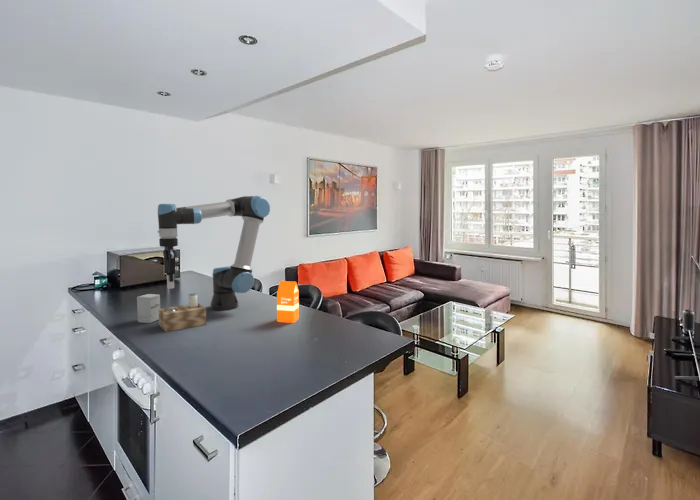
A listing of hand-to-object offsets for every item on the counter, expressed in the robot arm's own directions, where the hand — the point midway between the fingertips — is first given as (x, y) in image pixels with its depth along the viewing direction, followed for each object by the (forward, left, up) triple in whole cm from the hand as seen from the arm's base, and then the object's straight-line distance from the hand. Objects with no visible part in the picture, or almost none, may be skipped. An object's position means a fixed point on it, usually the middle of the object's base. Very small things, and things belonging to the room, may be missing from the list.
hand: (170, 288), depth 170 cm
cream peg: (-10, 0, -12) cm, 16 cm away
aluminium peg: (0, 0, -18) cm, 18 cm away
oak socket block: (-5, 0, -18) cm, 19 cm away
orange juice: (-49, +23, -19) cm, 57 cm away
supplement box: (+6, -17, -19) cm, 26 cm away
